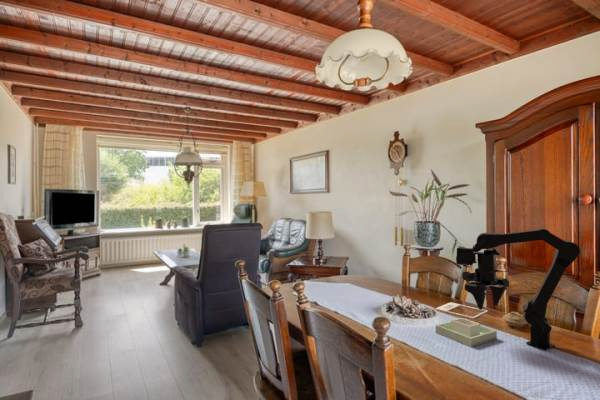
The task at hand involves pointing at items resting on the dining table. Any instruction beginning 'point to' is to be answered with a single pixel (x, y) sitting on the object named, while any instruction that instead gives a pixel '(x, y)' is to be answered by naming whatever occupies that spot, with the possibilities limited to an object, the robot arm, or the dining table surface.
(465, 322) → the small crate
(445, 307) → the photo frame
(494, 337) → the green tray
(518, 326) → the pottery oil lamp
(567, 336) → the dining table surface
